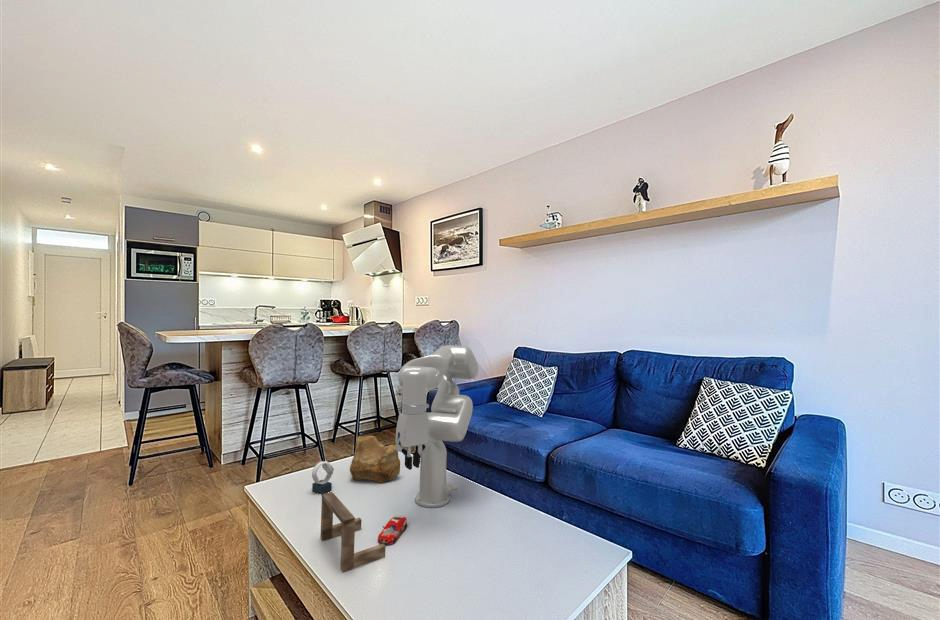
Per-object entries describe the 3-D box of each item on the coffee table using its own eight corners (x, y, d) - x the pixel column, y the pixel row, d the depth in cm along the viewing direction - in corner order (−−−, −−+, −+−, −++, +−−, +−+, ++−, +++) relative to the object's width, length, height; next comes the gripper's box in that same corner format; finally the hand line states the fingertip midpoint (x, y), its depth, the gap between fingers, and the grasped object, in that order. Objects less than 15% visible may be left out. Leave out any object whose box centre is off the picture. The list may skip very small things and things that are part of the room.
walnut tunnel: (359, 527, 126) (360, 484, 126) (385, 556, 111) (386, 508, 111) (320, 538, 119) (321, 494, 119) (342, 572, 103) (343, 520, 104)
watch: (335, 489, 153) (336, 460, 153) (317, 497, 146) (318, 466, 146) (325, 486, 156) (326, 457, 156) (307, 493, 149) (308, 463, 149)
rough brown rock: (334, 478, 165) (334, 443, 164) (366, 463, 179) (365, 430, 178) (373, 495, 152) (372, 457, 151) (404, 478, 166) (403, 442, 165)
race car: (391, 548, 115) (391, 534, 115) (374, 545, 117) (374, 531, 117) (410, 525, 128) (410, 513, 128) (394, 523, 129) (394, 510, 129)
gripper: (429, 404, 135) (427, 459, 134) (385, 409, 125) (383, 468, 125) (441, 408, 129) (439, 466, 128) (396, 414, 119) (394, 476, 119)
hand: (412, 467), depth 126 cm, fingers closed
